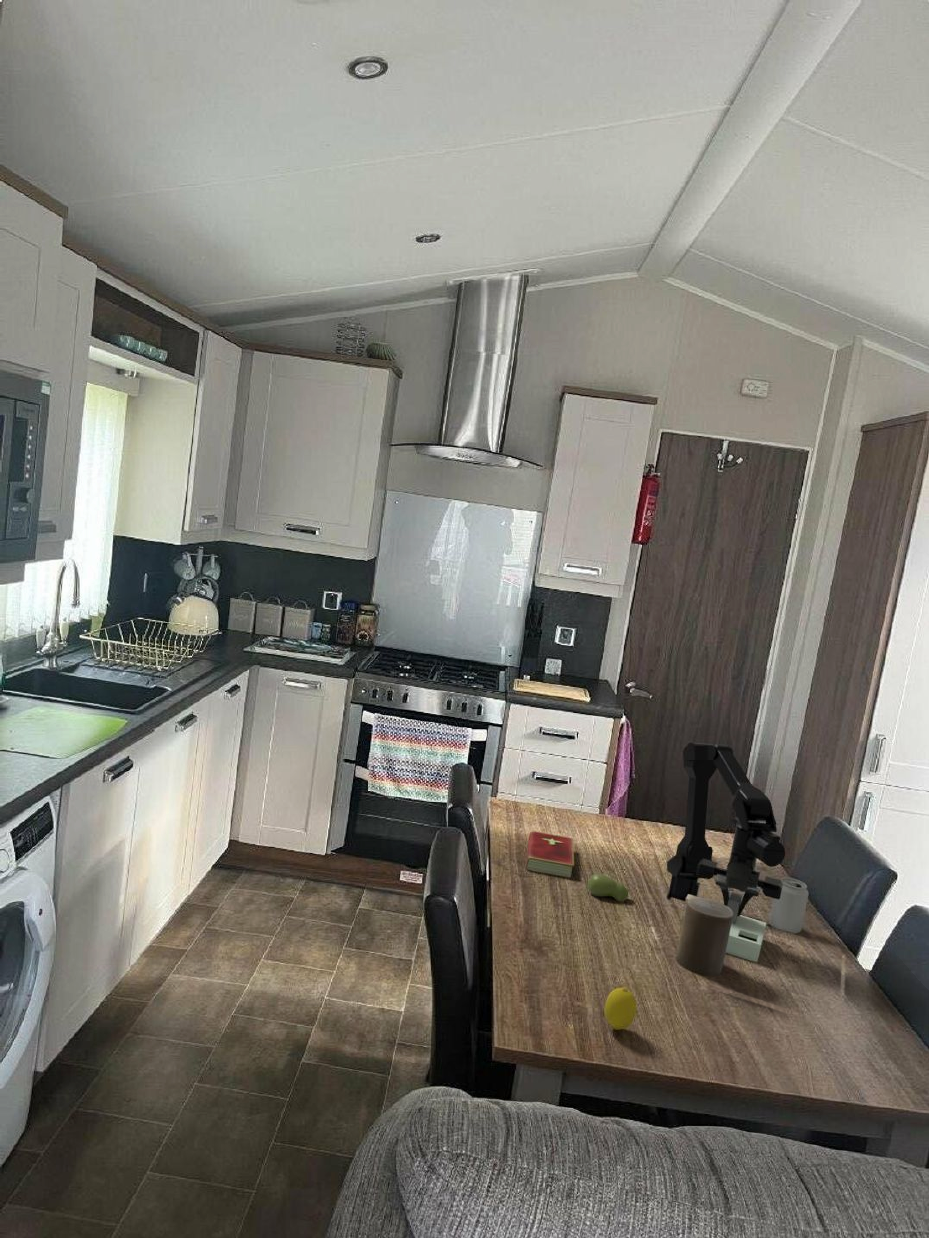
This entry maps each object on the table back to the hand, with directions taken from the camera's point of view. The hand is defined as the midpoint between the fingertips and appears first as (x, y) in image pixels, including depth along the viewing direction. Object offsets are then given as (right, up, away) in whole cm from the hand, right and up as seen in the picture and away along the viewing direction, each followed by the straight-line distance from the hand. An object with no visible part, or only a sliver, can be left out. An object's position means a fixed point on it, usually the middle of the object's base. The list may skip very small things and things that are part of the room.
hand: (732, 913), depth 214 cm
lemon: (-34, -6, -47) cm, 58 cm away
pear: (-27, -1, +14) cm, 30 cm away
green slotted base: (+1, -3, -4) cm, 5 cm away
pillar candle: (-12, -6, -17) cm, 22 cm away
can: (+16, -8, +12) cm, 21 cm away
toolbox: (0, -7, -4) cm, 7 cm away
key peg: (-11, -5, -1) cm, 12 cm away
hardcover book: (-39, +3, +33) cm, 52 cm away
